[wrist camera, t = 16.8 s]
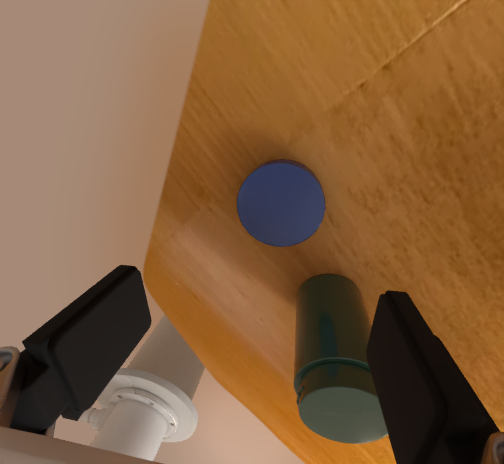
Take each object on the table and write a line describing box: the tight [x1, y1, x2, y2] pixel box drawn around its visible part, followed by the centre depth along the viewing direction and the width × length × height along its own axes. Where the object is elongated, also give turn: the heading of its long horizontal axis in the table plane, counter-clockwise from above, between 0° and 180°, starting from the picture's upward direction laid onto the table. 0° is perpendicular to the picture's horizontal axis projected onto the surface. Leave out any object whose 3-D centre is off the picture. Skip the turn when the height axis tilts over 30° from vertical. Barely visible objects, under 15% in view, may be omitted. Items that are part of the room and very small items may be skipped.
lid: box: [237, 159, 325, 247], centre depth 20 cm, size 7×7×2 cm
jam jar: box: [294, 274, 388, 444], centre depth 19 cm, size 6×6×11 cm
